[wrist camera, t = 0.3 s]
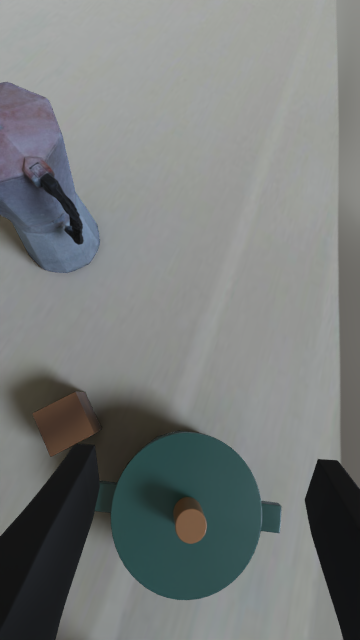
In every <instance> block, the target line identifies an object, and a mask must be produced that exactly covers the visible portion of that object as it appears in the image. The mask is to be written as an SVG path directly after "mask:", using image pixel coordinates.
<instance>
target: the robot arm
mask: <svg viewBox="0 0 360 640" xmlns="http://www.w3.org/2000/svg"><path fill="white" fill-rule="evenodd" d="M99 488H100V482H99V474H98V466H97V459H96V451H95V445H85V444H76V445H74V446H73V447H72V449H71V450H70V452H69V453H68V454H67V456H66V457H65V459H64V460H63V461H62V463H61V464H60V465H59V467H58V468H57V469H56V471H55V472H54V473H53V475H52V476H51V477H50V478H49V480H48V481H47V482H46V484H45V485H44V486H43V487H42V488H41V490H40V491H39V492H38V493H37V495H36V496H35V497H34V498H33V499H32V501H31V502H30V503H29V504H28V506H27V507H26V508H25V509H24V510H23V511H22V513H21V514H20V515H19V516H18V517H17V518H16V519H15V520H14V522H13V523H12V524H11V525H10V526H9V527H8V528H7V529H6V531H5V532H4V533H3V534H2V535H1V536H0V640H55V639H56V635H57V631H58V627H59V623H60V619H61V616H62V612H63V609H64V605H65V602H66V599H67V596H68V593H69V590H70V587H71V584H72V581H73V578H74V575H75V572H76V569H77V566H78V563H79V560H80V557H81V553H82V550H83V547H84V544H85V541H86V538H87V535H88V532H89V529H90V526H91V523H92V520H93V515H94V511H95V507H96V502H97V498H98V493H99ZM305 504H306V509H307V514H308V520H309V524H310V529H311V534H312V538H313V541H314V544H315V548H316V551H317V554H318V557H319V561H320V564H321V567H322V570H323V573H324V577H325V580H326V583H327V586H328V589H329V593H330V596H331V599H332V602H333V605H334V609H335V612H336V615H337V618H338V621H339V625H340V629H341V632H342V636H343V639H344V640H360V489H359V487H358V486H357V485H356V484H355V482H354V481H353V480H352V478H351V477H350V476H349V475H348V473H347V472H346V471H345V469H344V468H343V467H342V465H341V464H340V463H339V462H338V461H337V460H322V459H318V461H317V464H316V467H315V470H314V473H313V476H312V479H311V482H310V485H309V488H308V491H307V494H306V497H305Z"/></svg>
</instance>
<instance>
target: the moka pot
mask: <svg viewBox="0 0 360 640" xmlns="http://www.w3.org/2000/svg"><path fill="white" fill-rule="evenodd" d="M0 215H1V216H3V217H5V218H7V219H9V220H10V221H11V222H12V223H13V225H14V227H15V229H16V231H17V233H18V235H19V237H20V239H21V240H22V242H23V244H24V246H25V248H26V250H27V252H28V254H29V255H30V256H31V258H32V259H33V260H34V261H35V262H36V263H38V264H39V265H40V266H41V267H42V268H43V269H45V270H48V271H52V272H60V273H67V272H72V271H75V270H77V269H79V268H82V267H83V266H85V265H88V264H89V263H90V262H91V260H92V259H93V257H94V256H95V254H96V252H97V250H98V247H99V244H100V239H99V232H98V226H97V224H96V222H95V220H94V219H93V218H92V216H91V214H90V213H89V211H88V210H87V208H86V207H85V205H84V204H83V203H82V201H81V200H80V198H79V197H78V195H77V194H76V192H75V188H74V183H73V179H72V175H71V171H70V166H69V162H68V158H67V153H66V149H65V144H64V140H63V136H62V133H61V130H60V128H59V125H58V122H57V120H56V117H55V114H54V112H53V109H52V106H51V104H50V102H49V100H48V99H47V98H45V97H43V96H41V95H38V94H36V93H33V92H30V91H28V90H26V89H23V88H21V87H19V86H16V85H14V84H12V83H8V82H3V83H0Z"/></svg>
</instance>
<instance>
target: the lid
mask: <svg viewBox="0 0 360 640" xmlns="http://www.w3.org/2000/svg"><path fill="white" fill-rule="evenodd" d="M261 525H262V505H261V498H260V494H259V489H258V486H257V484H256V481H255V479H254V476H253V474H252V472H251V470H250V469H249V467H248V466H247V464H246V463H245V462H244V460H243V459H242V458H241V457H240V456H239V455H238V454H237V453H236V452H235V451H234V450H233V449H232V448H231V447H229V446H228V445H226V444H225V443H223V442H222V441H220V440H218V439H216V438H214V437H211V436H208V435H205V434H200V433H193V432H182V433H174V434H170V435H166V436H164V437H161V438H158V439H157V440H155V441H153V442H151V443H149V444H148V445H147V446H145V447H144V448H142V449H141V450H140V451H139V452H138V453H137V454H136V455H135V456H134V457H133V458H132V459H131V461H130V462H129V463H128V465H127V466H126V468H125V469H124V471H123V472H122V474H121V477H120V479H119V481H118V483H117V486H116V489H115V491H114V496H113V500H112V507H111V529H112V536H113V539H114V543H115V547H116V549H117V552H118V554H119V557H120V558H121V560H122V562H123V564H124V565H125V567H126V568H127V570H128V571H129V572H130V574H131V575H132V576H133V577H134V578H135V579H136V580H137V581H138V582H139V583H140V584H142V585H143V586H144V587H146V588H147V589H149V590H151V591H152V592H154V593H156V594H158V595H161V596H164V597H167V598H172V599H177V600H192V599H200V598H203V597H207V596H210V595H212V594H214V593H217V592H219V591H220V590H222V589H224V588H225V587H227V586H228V585H229V584H230V583H232V582H233V581H234V580H235V579H236V578H237V577H238V576H239V575H240V574H241V573H242V572H243V570H244V569H245V567H246V566H247V565H248V563H249V561H250V560H251V558H252V556H253V554H254V552H255V549H256V546H257V544H258V540H259V536H260V532H261Z"/></svg>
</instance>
